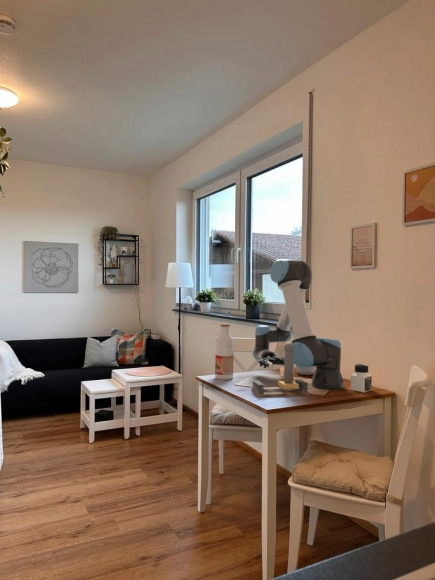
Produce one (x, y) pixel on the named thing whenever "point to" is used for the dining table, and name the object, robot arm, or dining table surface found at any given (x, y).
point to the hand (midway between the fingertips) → (282, 366)
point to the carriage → (288, 368)
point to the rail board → (280, 390)
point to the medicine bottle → (361, 379)
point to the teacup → (305, 370)
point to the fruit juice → (224, 354)
